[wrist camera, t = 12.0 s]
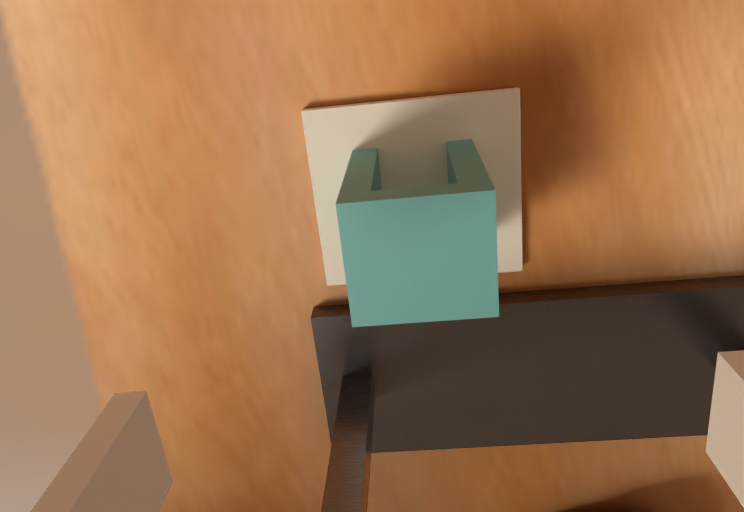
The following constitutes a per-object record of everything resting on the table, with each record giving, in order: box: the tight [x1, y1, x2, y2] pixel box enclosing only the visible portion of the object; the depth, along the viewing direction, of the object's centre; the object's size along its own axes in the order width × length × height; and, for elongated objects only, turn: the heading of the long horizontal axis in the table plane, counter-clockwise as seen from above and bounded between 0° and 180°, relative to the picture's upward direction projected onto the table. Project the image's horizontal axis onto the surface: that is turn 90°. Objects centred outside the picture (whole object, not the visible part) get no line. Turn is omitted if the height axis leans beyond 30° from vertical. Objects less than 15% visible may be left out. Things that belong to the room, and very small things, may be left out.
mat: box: [301, 87, 523, 286], centre depth 30 cm, size 10×9×1 cm
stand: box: [311, 276, 744, 512], centre depth 26 cm, size 24×9×17 cm, turn 96°
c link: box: [336, 139, 499, 327], centre depth 26 cm, size 5×6×8 cm
